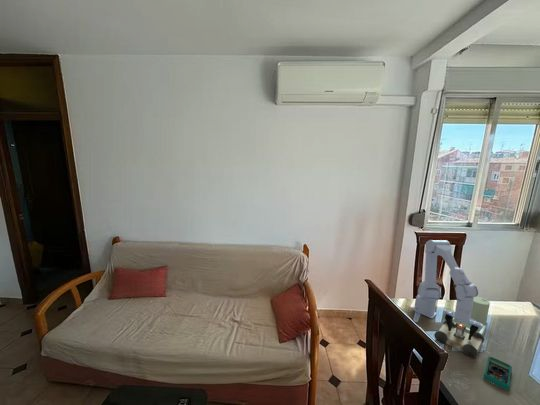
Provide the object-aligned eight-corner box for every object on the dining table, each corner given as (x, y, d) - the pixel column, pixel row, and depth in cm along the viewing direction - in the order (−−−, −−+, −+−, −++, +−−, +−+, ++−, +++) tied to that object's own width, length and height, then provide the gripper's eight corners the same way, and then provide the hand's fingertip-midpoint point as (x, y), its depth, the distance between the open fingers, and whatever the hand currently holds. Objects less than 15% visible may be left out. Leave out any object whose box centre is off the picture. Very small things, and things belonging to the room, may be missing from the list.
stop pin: (452, 341, 115) (454, 324, 114) (454, 337, 118) (456, 321, 116) (462, 346, 112) (465, 329, 111) (464, 342, 115) (467, 325, 113)
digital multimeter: (482, 380, 95) (483, 373, 94) (487, 360, 105) (488, 354, 104) (508, 393, 89) (510, 386, 89) (511, 371, 99) (512, 365, 99)
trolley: (433, 339, 116) (435, 329, 115) (443, 326, 126) (444, 318, 125) (476, 360, 104) (477, 349, 103) (483, 344, 113) (485, 335, 113)
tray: (447, 327, 125) (448, 321, 125) (453, 319, 132) (454, 313, 131) (479, 341, 115) (481, 335, 115) (484, 332, 122) (485, 326, 122)
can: (491, 324, 128) (495, 304, 126) (474, 324, 128) (477, 303, 126) (477, 314, 137) (480, 294, 135) (460, 313, 137) (463, 294, 136)
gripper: (442, 304, 115) (438, 329, 117) (481, 319, 104) (477, 347, 106) (447, 299, 120) (443, 324, 122) (485, 313, 108) (480, 340, 111)
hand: (459, 334), depth 114 cm, fingers open, 7 cm apart
